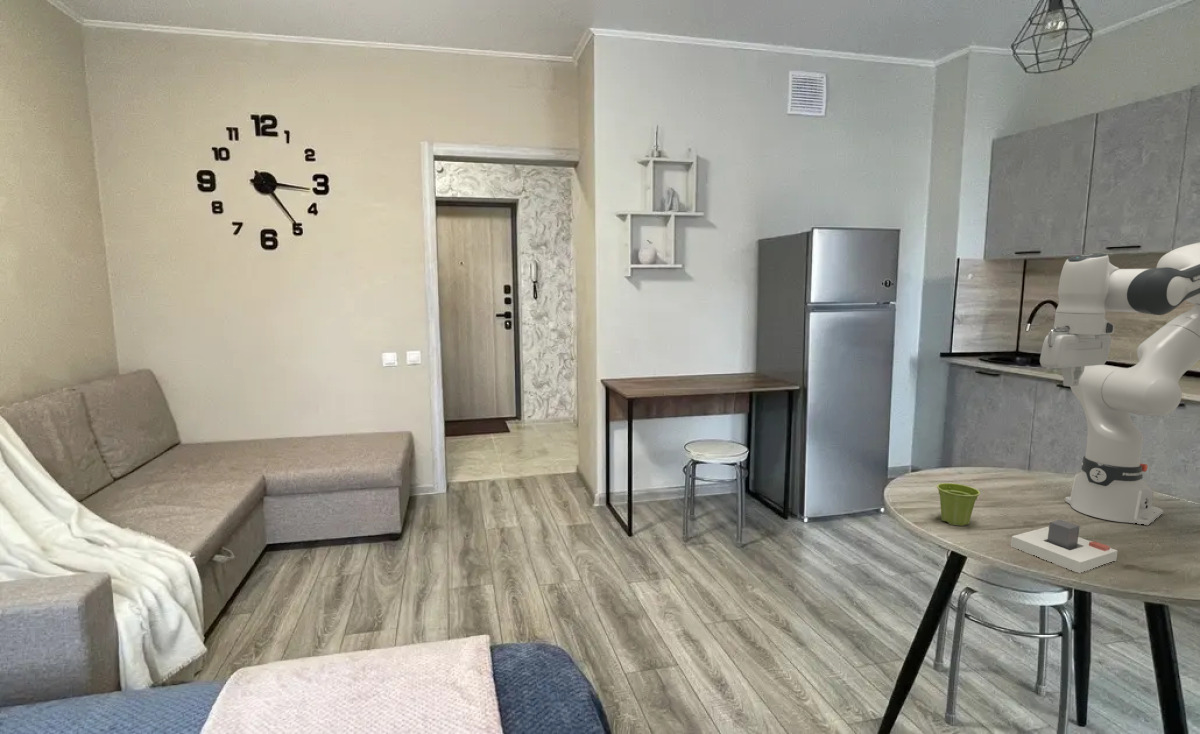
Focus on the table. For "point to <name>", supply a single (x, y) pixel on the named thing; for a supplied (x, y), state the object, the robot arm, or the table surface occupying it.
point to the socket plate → (1064, 551)
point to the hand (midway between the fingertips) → (1070, 385)
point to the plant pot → (957, 502)
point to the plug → (1063, 534)
